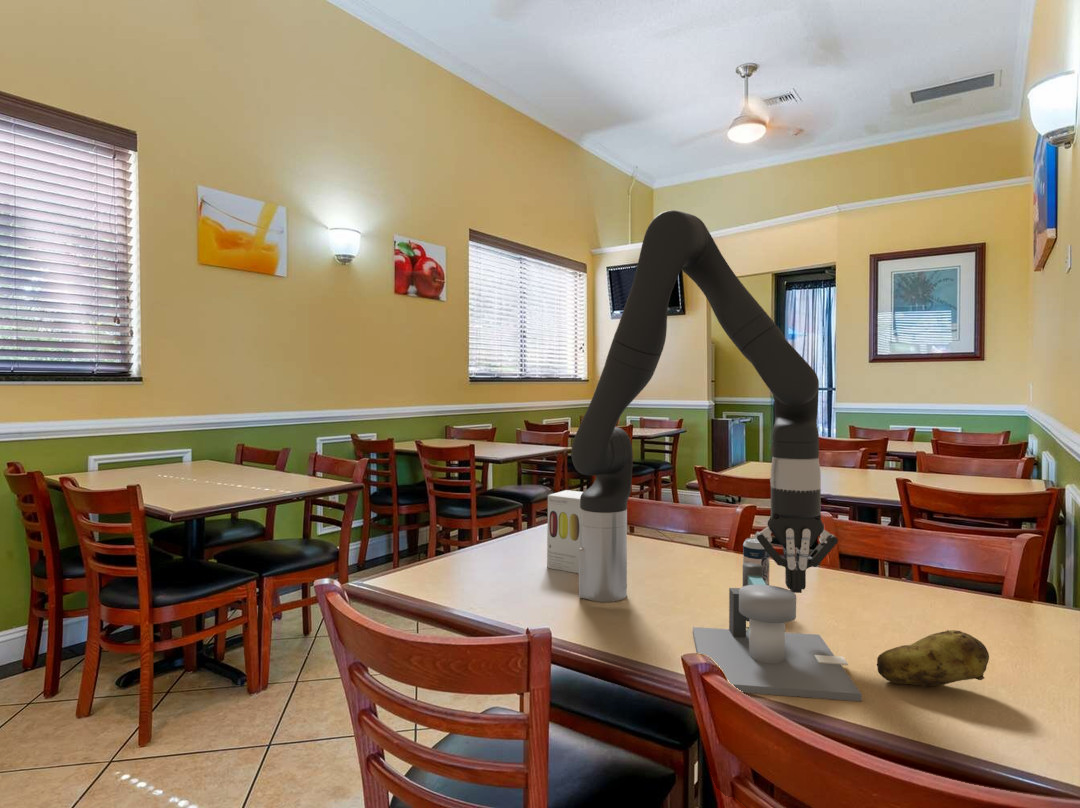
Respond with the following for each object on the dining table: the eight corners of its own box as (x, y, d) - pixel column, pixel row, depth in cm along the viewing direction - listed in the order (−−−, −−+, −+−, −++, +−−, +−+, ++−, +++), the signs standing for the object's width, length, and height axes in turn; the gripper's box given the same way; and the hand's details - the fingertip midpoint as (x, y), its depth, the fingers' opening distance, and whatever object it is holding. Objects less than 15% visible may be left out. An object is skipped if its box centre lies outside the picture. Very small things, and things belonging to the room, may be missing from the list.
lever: (801, 661, 89) (802, 598, 88) (743, 657, 90) (743, 595, 90) (775, 616, 106) (775, 563, 106) (726, 614, 107) (726, 561, 107)
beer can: (770, 608, 116) (771, 544, 116) (744, 606, 117) (744, 542, 117) (766, 599, 121) (767, 538, 121) (741, 598, 122) (741, 537, 122)
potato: (880, 664, 93) (881, 611, 93) (986, 687, 86) (988, 629, 85) (874, 686, 86) (875, 629, 86) (990, 713, 79) (991, 650, 79)
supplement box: (545, 568, 143) (545, 494, 142) (565, 558, 151) (565, 489, 150) (582, 574, 138) (582, 498, 137) (601, 564, 146) (601, 492, 145)
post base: (703, 689, 85) (704, 631, 85) (692, 630, 106) (692, 583, 105) (869, 702, 82) (870, 641, 81) (824, 638, 102) (824, 590, 102)
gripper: (756, 487, 99) (756, 596, 99) (845, 489, 97) (846, 601, 97) (749, 481, 106) (749, 582, 107) (832, 482, 104) (832, 586, 104)
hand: (795, 591), depth 102 cm, fingers closed
